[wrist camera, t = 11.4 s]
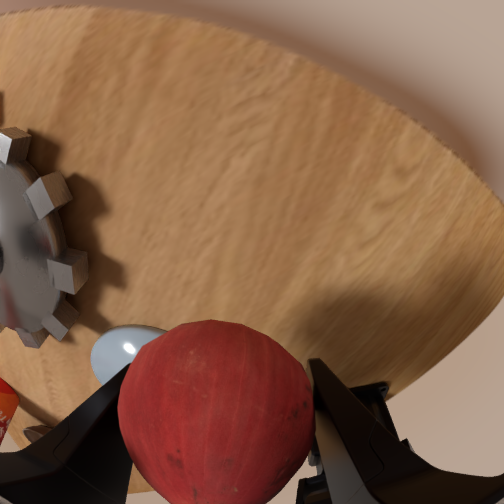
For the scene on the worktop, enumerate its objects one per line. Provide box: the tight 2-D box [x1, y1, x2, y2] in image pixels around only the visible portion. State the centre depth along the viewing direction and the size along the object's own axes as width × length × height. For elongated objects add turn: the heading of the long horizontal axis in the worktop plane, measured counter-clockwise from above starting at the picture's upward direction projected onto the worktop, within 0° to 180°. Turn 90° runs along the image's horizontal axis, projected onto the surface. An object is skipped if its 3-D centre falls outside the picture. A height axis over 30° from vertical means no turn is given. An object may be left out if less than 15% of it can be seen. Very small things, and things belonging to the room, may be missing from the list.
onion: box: [117, 320, 316, 504], centre depth 7 cm, size 6×6×8 cm
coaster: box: [91, 325, 167, 385], centre depth 19 cm, size 10×10×1 cm
